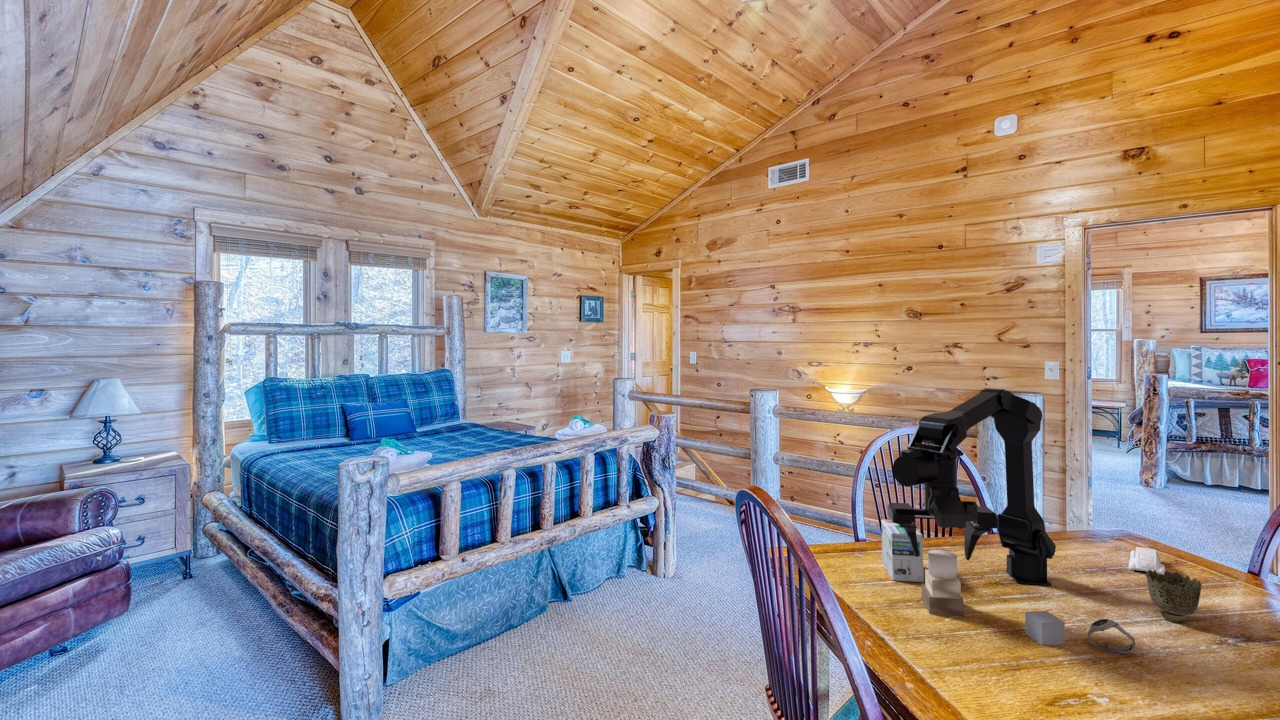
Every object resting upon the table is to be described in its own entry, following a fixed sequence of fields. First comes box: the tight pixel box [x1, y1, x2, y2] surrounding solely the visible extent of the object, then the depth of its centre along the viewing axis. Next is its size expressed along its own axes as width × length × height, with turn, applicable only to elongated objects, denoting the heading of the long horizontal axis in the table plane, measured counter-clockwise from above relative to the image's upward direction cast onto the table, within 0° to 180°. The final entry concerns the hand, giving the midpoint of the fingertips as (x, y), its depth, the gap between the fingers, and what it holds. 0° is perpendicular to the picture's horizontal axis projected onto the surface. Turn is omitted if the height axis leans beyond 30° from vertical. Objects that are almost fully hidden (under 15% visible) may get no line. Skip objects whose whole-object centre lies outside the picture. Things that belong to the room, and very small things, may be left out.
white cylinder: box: [927, 549, 958, 580], centre depth 109 cm, size 5×5×4 cm
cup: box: [1145, 570, 1203, 624], centre depth 102 cm, size 8×7×8 cm
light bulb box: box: [880, 519, 925, 583], centre depth 126 cm, size 11×7×11 cm, turn 168°
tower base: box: [920, 583, 965, 618], centre depth 109 cm, size 6×6×4 cm
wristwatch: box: [1087, 618, 1137, 655], centre depth 93 cm, size 4×6×5 cm, turn 51°
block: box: [1024, 610, 1066, 646], centre depth 97 cm, size 4×4×4 cm
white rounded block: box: [1127, 546, 1166, 575], centre depth 126 cm, size 12×6×5 cm, turn 139°
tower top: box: [924, 569, 962, 599], centre depth 108 cm, size 5×5×4 cm
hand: (941, 557), depth 109 cm, fingers open, 9 cm apart
